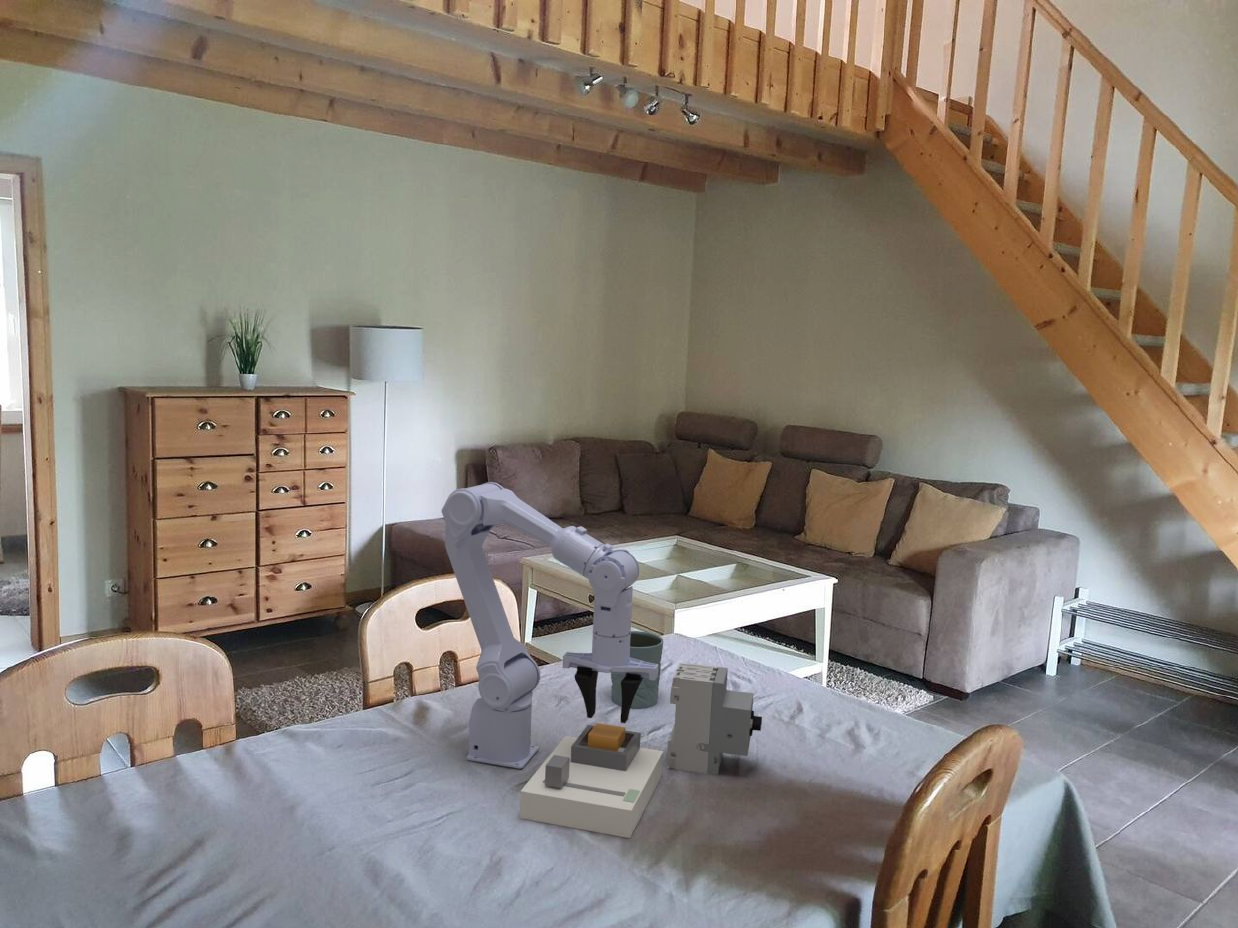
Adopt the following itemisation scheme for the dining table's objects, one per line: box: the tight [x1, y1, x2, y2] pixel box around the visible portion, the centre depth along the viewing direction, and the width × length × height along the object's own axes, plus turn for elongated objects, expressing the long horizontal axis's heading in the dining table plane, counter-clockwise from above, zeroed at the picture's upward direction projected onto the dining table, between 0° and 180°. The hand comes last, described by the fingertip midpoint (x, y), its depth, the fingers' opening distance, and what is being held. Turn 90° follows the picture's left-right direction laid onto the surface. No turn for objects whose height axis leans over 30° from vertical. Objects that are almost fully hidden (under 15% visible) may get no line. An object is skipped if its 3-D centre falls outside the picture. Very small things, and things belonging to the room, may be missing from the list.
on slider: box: [545, 755, 570, 788], centre depth 136 cm, size 2×4×3 cm, turn 165°
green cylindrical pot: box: [610, 630, 664, 710], centre depth 179 cm, size 10×10×12 cm
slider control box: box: [519, 724, 664, 839], centre depth 141 cm, size 16×20×6 cm
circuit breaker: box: [666, 662, 763, 776], centre depth 153 cm, size 8×14×15 cm, turn 78°
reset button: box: [588, 722, 626, 751], centre depth 146 cm, size 5×5×2 cm
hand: (607, 718), depth 145 cm, fingers open, 5 cm apart
